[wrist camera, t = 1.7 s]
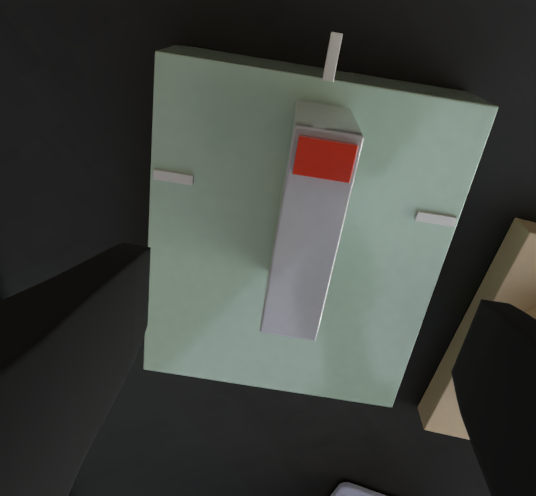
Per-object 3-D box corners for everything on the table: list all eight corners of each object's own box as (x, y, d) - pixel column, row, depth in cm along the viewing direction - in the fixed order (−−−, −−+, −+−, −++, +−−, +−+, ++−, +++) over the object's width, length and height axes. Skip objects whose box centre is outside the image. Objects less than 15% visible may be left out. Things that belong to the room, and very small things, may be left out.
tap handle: (313, 280, 18) (316, 347, 15) (266, 273, 18) (258, 338, 15) (351, 107, 15) (366, 138, 12) (295, 98, 15) (294, 126, 12)
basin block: (382, 362, 24) (393, 410, 21) (160, 328, 24) (141, 372, 21) (482, 52, 17) (517, 62, 14) (178, 3, 17) (154, 2, 14)
